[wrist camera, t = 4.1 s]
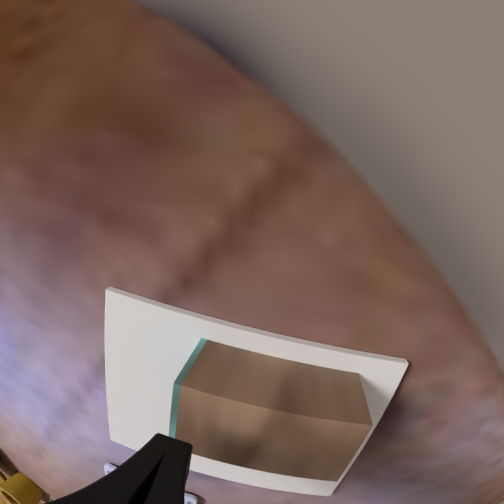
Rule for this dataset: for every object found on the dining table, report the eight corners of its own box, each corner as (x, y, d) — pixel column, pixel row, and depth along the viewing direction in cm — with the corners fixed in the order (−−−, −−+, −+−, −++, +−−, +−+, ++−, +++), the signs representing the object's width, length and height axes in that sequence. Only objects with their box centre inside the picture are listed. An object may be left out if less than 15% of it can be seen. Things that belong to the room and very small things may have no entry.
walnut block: (191, 397, 16) (332, 429, 15) (167, 445, 12) (337, 481, 11) (201, 337, 15) (358, 373, 14) (173, 382, 11) (372, 425, 11)
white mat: (329, 491, 17) (329, 496, 17) (113, 435, 18) (110, 439, 18) (405, 358, 14) (408, 363, 14) (110, 286, 16) (106, 289, 15)
